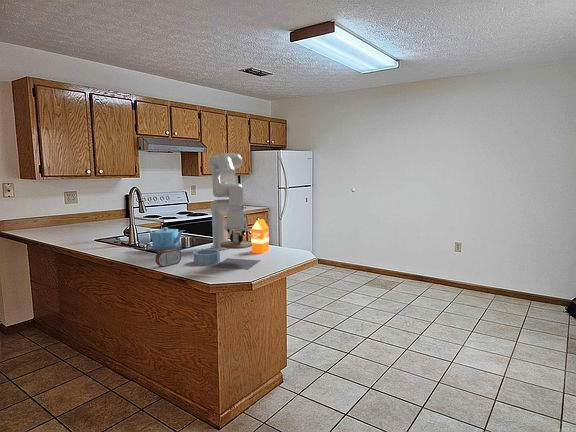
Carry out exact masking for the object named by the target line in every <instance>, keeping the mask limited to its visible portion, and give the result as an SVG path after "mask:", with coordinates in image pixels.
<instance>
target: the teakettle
mask: <svg viewBox="0 0 576 432" xmlns="http://www.w3.org/2000/svg"><path fill="white" fill-rule="evenodd" d="M145 231H146V232H148V233H149V235H150V239H151V240H152V241H151V242H152V243H151V244H152V250H153V251H157V252H156V253H158V252H159V251H162V250H168V249H177V248H178V247H179V246H180V245H179V244H180V243H179V242H180V240H181V236H182V234H183V233H184V232H185V231H186V229H185V230H183V229H182V230H179V229H178V228H169V227H168V226H165V227H162V228H159V229H157V230H155V231H152V230H150V229H146V230H145Z"/></svg>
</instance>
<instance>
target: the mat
mask: <svg viewBox="0 0 576 432" xmlns="http://www.w3.org/2000/svg"><path fill="white" fill-rule="evenodd" d="M259 262H261V259H260V260H258V259H244V258H243V259H242V258H232V257H231V258H229V257H228V258H226V259H224V260H222V261H220V262H218V263H216V264H213V266H212V268H218V269H219V268H220V269H222V268H223V269H231V270H232V269H234V270H250V269H252V267H254V266H256V265H257V264H259Z"/></svg>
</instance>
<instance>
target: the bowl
mask: <svg viewBox="0 0 576 432" xmlns="http://www.w3.org/2000/svg"><path fill="white" fill-rule="evenodd" d="M220 251H221V250H215V249H211V248H207V249H197V250H194V251H193V256H192V257H193V264H194V265H195V264H196V265H198V266H199V265H200V266H201V265H202V266H209V265H216V264H218V263H220V262H221V259H220V258H221V257H220V256H221V255H220V254H221V252H220Z"/></svg>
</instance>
